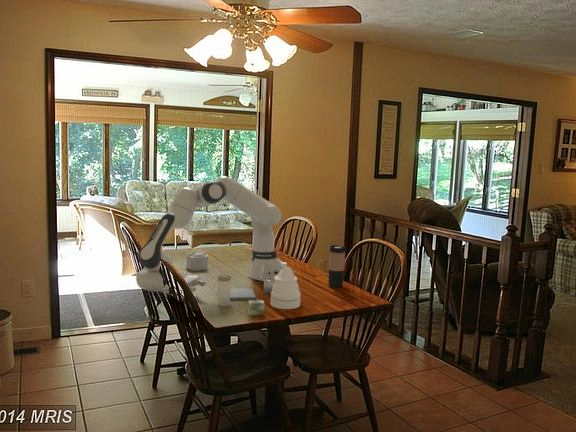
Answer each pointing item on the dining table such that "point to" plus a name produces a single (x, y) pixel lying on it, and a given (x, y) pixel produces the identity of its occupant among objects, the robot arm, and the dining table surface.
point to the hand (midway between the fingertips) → (199, 286)
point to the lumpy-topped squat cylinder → (197, 261)
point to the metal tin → (268, 285)
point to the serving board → (242, 294)
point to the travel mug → (336, 266)
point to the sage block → (256, 307)
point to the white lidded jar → (224, 290)
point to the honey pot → (285, 290)
